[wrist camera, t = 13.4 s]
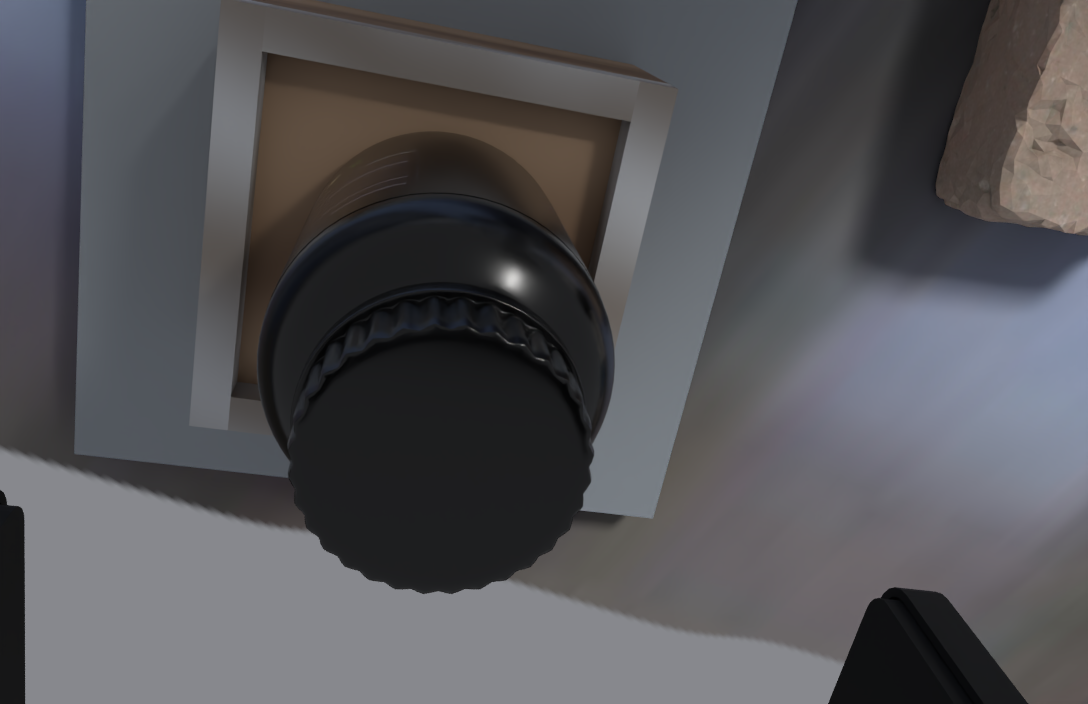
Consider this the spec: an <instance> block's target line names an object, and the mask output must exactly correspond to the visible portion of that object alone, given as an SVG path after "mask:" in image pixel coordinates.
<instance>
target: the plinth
mask: <svg viewBox="0 0 1088 704" xmlns="http://www.w3.org/2000/svg"><path fill="white" fill-rule="evenodd" d="M677 93H678V89H677V88H676V87H674V86H672V85H670V84H668V83H666V82H664V81H663V80H661V79H659V78H657V77H655V76H653V75H651V74H649V73H648V72H646V71H644V70H642V69H640V68H638V67H636V66H635V65H632V64H627V63H622V62H617V61H612V60H607V59H602V58H597V57H592V56H588V55H583V54H578V53H573V52H568V51H563V50H558V49H553V48H548V47H543V46H538V45H533V44H528V43H523V42H518V41H513V40H509V39H504V38H499V37H494V36H489V35H484V34H479V33H474V32H469V31H464V30H459V29H454V28H449V27H444V26H439V25H434V24H430V23H425V22H420V21H415V20H410V19H405V18H400V17H395V16H390V15H385V14H380V13H375V12H370V11H365V10H360V9H355V8H351V7H346V6H341V5H336V4H331V3H326V2H321V1H316V0H221V4H220V17H219V31H218V44H217V58H216V71H215V85H214V98H213V112H212V125H211V139H210V152H209V166H208V179H207V192H206V206H205V219H204V233H203V246H202V260H201V273H200V287H199V300H198V314H197V327H196V340H195V354H194V367H193V381H192V394H191V408H190V421H189V426H195V427H204V428H212V429H221V430H229V431H237V432H246V433H254V434H263V435H271V436H273V434H272V431H271V429H270V427H269V424H268V422H267V420H266V416H265V413H264V410H263V407H262V403H261V398H260V393H259V388H258V379H257V350H258V343H259V336H260V332H261V328H262V324H263V320H264V316H265V313H266V309H267V307H268V304H269V301H270V299H271V296H272V293H273V291H274V289H275V287H276V285H277V282H278V280H279V278H280V276H281V274H282V272H283V269H284V267H285V265H286V263H287V261H288V259H289V256H290V254H291V252H292V250H293V248H294V246H295V244H296V241H297V239H298V237H299V235H300V233H301V231H302V228H303V226H304V224H305V222H306V220H307V218H308V215H309V213H310V211H311V209H312V207H313V205H314V203H315V202H316V200H317V198H318V196H319V195H320V193H321V192H322V190H323V189H324V187H325V185H326V184H327V183H328V182H329V180H330V179H331V178H332V177H333V175H334V174H335V173H336V172H337V171H338V170H339V169H340V168H341V167H342V166H343V165H344V164H346V163H347V162H348V161H349V160H351V159H352V158H353V157H354V156H356V155H357V154H359V153H360V152H362V151H363V150H365V149H367V148H369V147H370V146H372V145H374V144H376V143H379V142H381V141H383V140H386V139H388V138H392V137H395V136H399V135H403V134H408V133H413V132H424V131H441V132H450V133H456V134H461V135H465V136H469V137H472V138H475V139H478V140H481V141H483V142H485V143H488V144H490V145H492V146H494V147H495V148H497V149H499V150H501V151H503V152H504V153H505V154H507V155H508V156H510V157H511V158H513V159H514V160H515V161H516V162H517V163H519V164H520V165H521V166H522V167H523V168H524V169H525V170H526V171H527V172H528V173H529V174H530V175H531V176H532V177H533V178H534V179H535V181H536V182H537V183H538V185H539V186H540V187H541V189H542V190H543V192H544V193H545V195H546V196H547V198H548V199H549V201H550V203H551V204H552V206H553V208H554V210H555V211H556V213H557V215H558V217H559V219H560V221H561V222H562V224H563V226H564V228H565V230H566V232H567V233H568V235H569V237H570V239H571V241H572V243H573V244H574V246H575V248H576V250H577V252H578V253H579V255H580V257H581V259H582V261H583V263H584V264H585V266H586V268H587V270H588V272H589V274H590V276H591V277H592V279H593V282H594V284H595V286H596V288H597V290H598V292H599V294H600V296H601V299H602V301H603V304H604V307H605V310H606V312H607V315H608V319H609V323H610V327H611V330H612V336H613V342H614V350H615V346H616V342H617V338H618V334H619V330H620V326H621V322H622V318H623V314H624V310H625V305H626V301H627V297H628V293H629V289H630V285H631V281H632V277H633V273H634V269H635V265H636V261H637V256H638V252H639V248H640V244H641V240H642V236H643V232H644V228H645V224H646V220H647V216H648V212H649V208H650V203H651V199H652V195H653V191H654V187H655V183H656V179H657V175H658V171H659V167H660V163H661V159H662V154H663V150H664V146H665V142H666V138H667V134H668V130H669V126H670V122H671V118H672V114H673V110H674V105H675V101H676V97H677Z"/></svg>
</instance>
